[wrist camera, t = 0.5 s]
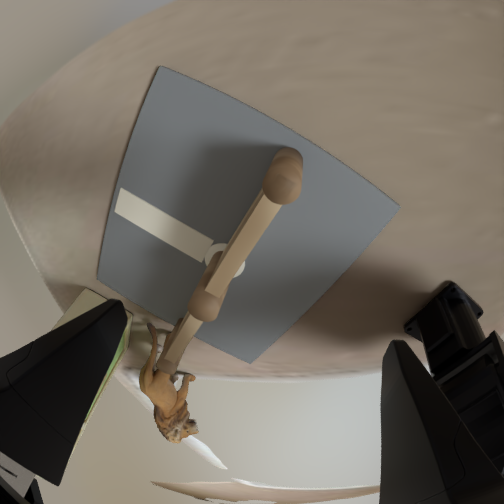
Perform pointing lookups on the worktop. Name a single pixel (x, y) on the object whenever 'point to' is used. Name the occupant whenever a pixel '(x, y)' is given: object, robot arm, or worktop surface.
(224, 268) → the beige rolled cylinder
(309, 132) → the worktop surface
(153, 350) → the lion figurine
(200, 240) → the board
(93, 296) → the toy refrigerator
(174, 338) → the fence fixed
